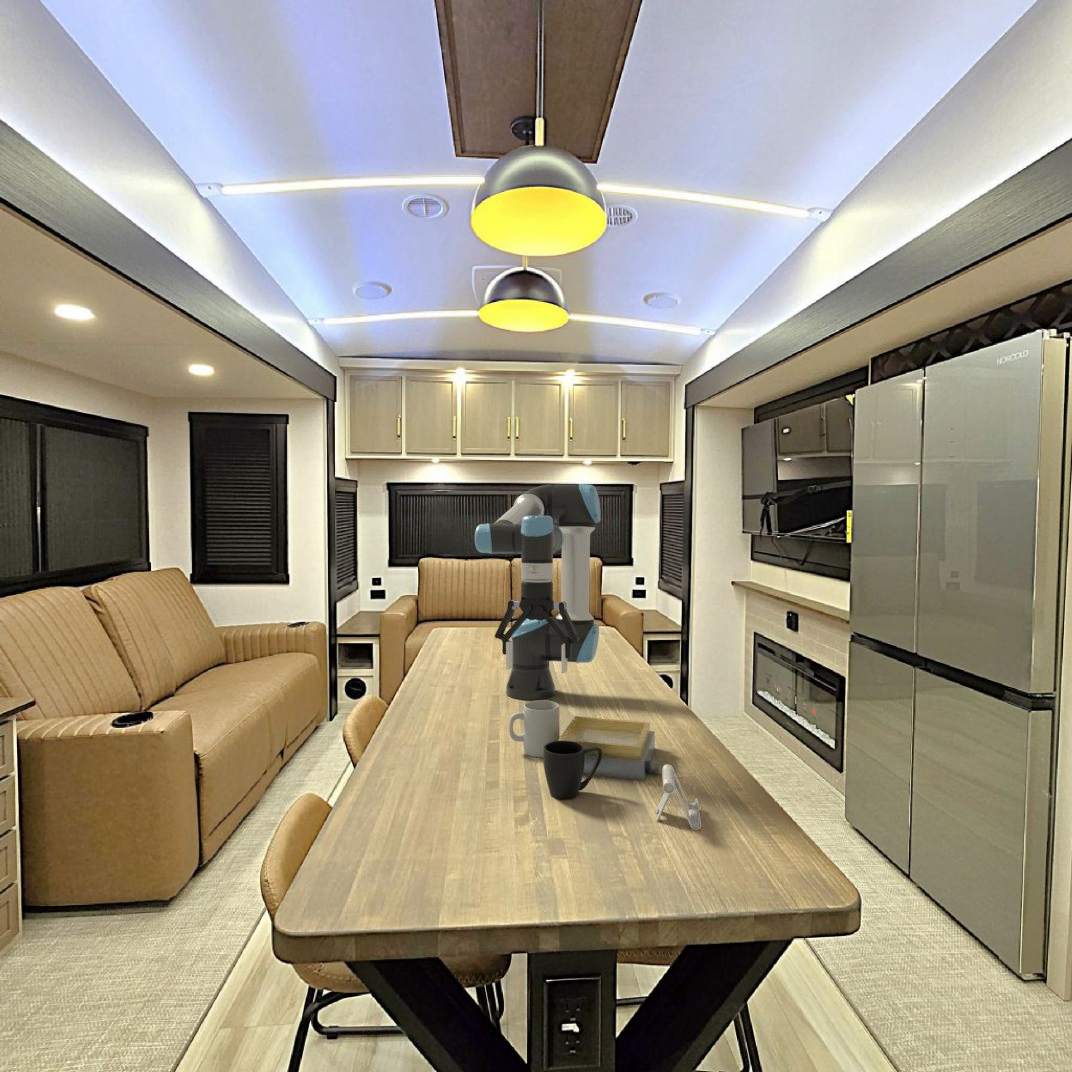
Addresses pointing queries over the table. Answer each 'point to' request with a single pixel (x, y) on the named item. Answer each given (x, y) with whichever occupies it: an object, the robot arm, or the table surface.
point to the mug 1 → (537, 726)
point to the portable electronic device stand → (671, 788)
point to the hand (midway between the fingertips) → (536, 670)
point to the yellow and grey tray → (615, 746)
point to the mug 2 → (567, 768)
